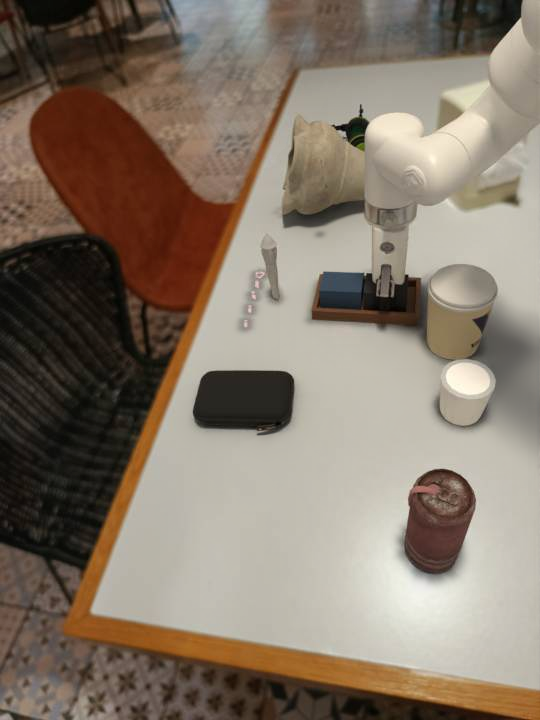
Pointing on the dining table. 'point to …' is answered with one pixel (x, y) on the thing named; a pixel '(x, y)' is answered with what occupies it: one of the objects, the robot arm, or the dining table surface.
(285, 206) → the vase
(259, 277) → the flower petals
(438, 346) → the coffee cup
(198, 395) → the carrying case
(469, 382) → the white short cylinder
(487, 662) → the dining table surface
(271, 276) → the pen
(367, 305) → the pad
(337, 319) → the tray
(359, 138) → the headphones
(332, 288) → the blue block
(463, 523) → the can
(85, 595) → the dining table surface
